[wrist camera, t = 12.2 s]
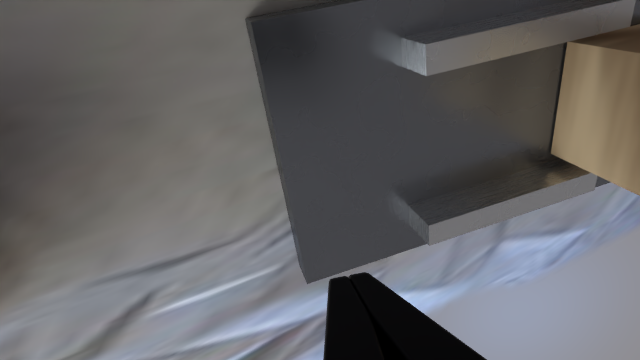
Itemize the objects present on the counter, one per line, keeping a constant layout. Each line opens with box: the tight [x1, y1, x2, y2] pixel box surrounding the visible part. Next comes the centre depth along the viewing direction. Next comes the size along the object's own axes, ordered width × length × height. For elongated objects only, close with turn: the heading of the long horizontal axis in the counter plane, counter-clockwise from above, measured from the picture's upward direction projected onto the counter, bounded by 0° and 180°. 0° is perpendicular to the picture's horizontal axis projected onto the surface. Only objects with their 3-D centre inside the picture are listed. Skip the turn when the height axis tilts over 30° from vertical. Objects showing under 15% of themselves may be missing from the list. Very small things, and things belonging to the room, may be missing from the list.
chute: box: [245, 0, 640, 284], centre depth 20 cm, size 22×13×4 cm, turn 99°
